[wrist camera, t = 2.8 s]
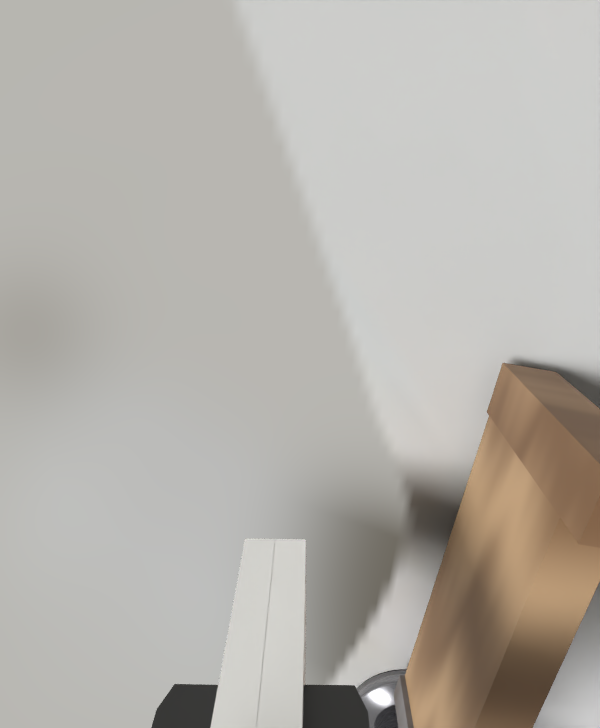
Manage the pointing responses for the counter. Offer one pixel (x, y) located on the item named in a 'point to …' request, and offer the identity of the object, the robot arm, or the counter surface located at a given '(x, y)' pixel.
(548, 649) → the gate
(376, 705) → the hinge post
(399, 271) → the counter surface
